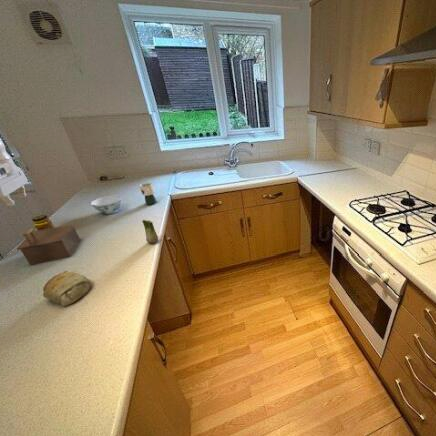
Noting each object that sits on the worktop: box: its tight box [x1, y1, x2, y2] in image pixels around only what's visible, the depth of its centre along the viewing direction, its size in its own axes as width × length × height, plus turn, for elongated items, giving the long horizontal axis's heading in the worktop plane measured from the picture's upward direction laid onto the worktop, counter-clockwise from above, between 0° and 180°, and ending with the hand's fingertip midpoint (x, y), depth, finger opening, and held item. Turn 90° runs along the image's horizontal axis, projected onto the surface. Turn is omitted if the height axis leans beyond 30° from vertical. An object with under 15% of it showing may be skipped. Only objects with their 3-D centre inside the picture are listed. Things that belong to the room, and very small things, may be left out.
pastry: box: [42, 270, 91, 307], centre depth 85 cm, size 14×12×8 cm
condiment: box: [31, 214, 55, 230], centre depth 118 cm, size 7×8×12 cm
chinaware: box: [90, 195, 123, 215], centre depth 145 cm, size 15×15×8 cm
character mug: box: [139, 182, 157, 205], centre depth 155 cm, size 11×7×13 cm, turn 37°
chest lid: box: [16, 224, 74, 251], centre depth 105 cm, size 14×16×4 cm
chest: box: [20, 225, 81, 266], centre depth 108 cm, size 14×16×8 cm
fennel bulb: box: [141, 219, 159, 245], centre depth 113 cm, size 6×5×12 cm
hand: (18, 200), depth 97 cm, fingers open, 8 cm apart
